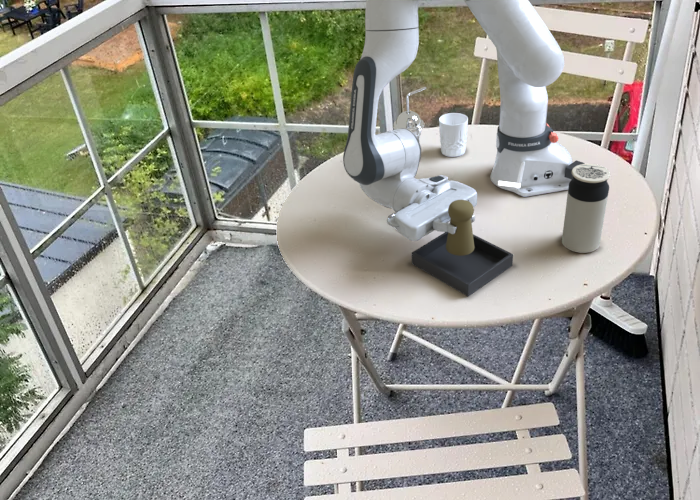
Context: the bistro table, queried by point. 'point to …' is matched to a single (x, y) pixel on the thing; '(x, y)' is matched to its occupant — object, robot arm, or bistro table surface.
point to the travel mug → (585, 208)
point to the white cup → (453, 134)
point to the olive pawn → (461, 228)
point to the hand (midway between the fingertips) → (464, 224)
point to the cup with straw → (410, 119)
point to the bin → (462, 263)
